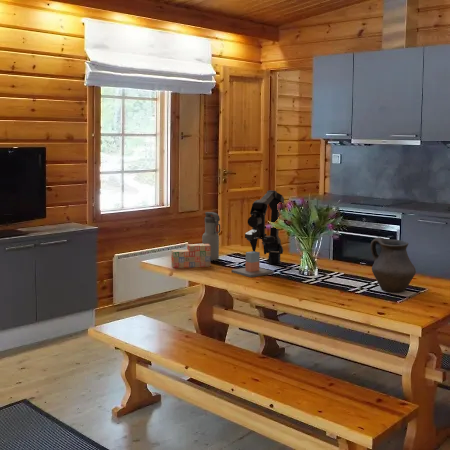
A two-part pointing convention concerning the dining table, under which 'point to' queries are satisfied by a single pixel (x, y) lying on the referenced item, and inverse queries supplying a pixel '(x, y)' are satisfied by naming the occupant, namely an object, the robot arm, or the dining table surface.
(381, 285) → the pitcher
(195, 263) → the stack of blocks
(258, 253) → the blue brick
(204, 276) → the dining table surface
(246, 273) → the base plate
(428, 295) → the dining table surface
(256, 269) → the terracotta brick
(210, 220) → the water bottle
